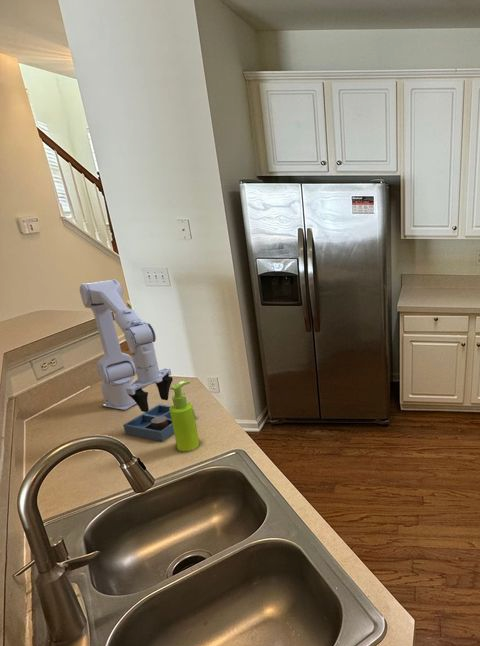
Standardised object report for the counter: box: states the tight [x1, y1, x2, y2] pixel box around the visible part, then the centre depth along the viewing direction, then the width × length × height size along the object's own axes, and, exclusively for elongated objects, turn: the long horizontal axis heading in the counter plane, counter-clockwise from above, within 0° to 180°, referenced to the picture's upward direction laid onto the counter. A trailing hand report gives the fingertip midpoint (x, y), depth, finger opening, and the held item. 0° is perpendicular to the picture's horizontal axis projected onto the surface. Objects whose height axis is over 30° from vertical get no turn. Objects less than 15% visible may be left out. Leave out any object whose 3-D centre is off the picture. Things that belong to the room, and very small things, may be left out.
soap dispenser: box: [169, 380, 200, 452], centre depth 124 cm, size 6×7×20 cm
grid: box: [123, 403, 196, 442], centre depth 137 cm, size 14×14×3 cm
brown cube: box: [151, 416, 169, 431], centre depth 133 cm, size 4×4×4 cm
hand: (155, 405), depth 131 cm, fingers open, 7 cm apart
